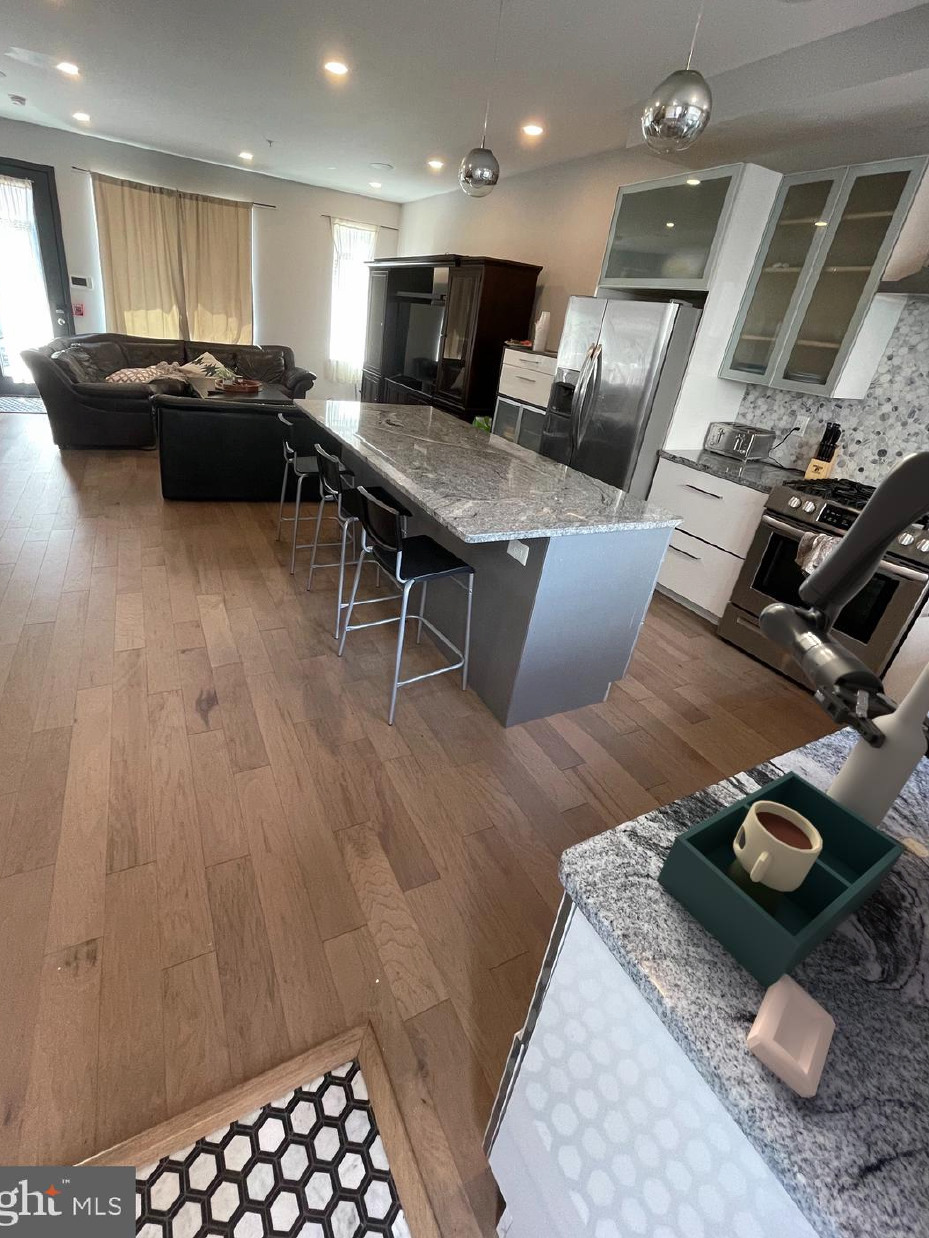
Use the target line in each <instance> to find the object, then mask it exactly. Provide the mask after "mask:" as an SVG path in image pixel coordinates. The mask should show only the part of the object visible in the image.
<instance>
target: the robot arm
mask: <svg viewBox="0 0 929 1238" xmlns="http://www.w3.org/2000/svg"><path fill="white" fill-rule="evenodd" d="M926 515H929V450H925V451H917V452H913V453H909V454H907V455H905V456H903V457H901V458H900V459H898V461H896V462H895V463H894V464H892V466H891V467H890V468H889V470H887V472H886V473H885V474H884V476H883V477H882V479H881V481H880V482H879V484H878V485H877V487H876V489H875V490H874V492H873V494H872V495H871V496H870V498H869V500H868V502H867V503H866V505H865V506H864V507H863V509H862V510H861V512H860V513H859V514H858V517H857V518H856V519H855V521H853V523H852V525H851V527H850V528H849V529H848V530H847V532H846V533H845V534H844V535H843V537H842V539H841V540H840V541H839V542H838V543H837V545H836V546H835V547H833V549H832V550H831V551H830V553H829V554H828V555H827V556H826V557H825V558H824V559H823V560H822V562H820V564H819V565H817V567H816V568H815V569H814V570H813V571H812V572H811V574H809V576H808V577H807V578H806V579H805V580H804V581H803V582H802V583H801V585H800V586H799V588H798V594H799V597H800V598H801V600H802V601H803V602H804V603H806V604H807V605H808V606H809V607H810V609H809V610H805V609H802V608H799V607H796V606H794V605H791V604H788V603H785V602H774V603H771V604H769V605H767V606H766V607H764V608H763V610H762V611H761V613H760V615H759V620H758V623H759V629H760V631H761V633H762V635H763V636H764V638H765V639H767V640H768V641H769V642H770V643H771V644H772V645H774V646H775V647H776V648H778V649H780V650H781V651H782V652H783V653H785V654H787V655H788V656H790V657H791V658H792V659H793V660H794V661H795V662H796V664H797V665H798V666H799V667H800V668H801V670H802V671H803V672H804V673H805V675H806V677H807V679H808V680H809V682H810V683H811V684H812V685H813V686H814V688H815V689H816V692H815V694H813V697H812V700H813V701H814V703H815V704H816V705H818V707H819V708H820V709H821V710H822V711H823V712H824V713H825V714H826V715H827V716H828V717H829V718H830V719H831V721H833V722H834V723H835V724H836V725H839V726H842V725H844V724H846V725H848V727H849V728H850V730H851V729H852V730H854V731H856V732H857V733H858V734H859V735H860V737H861V736H862V738H863V739H864V740H865V741H867V742H868V743H869V744H870V746H871V747H873V748H878V749H879V748H881V746H882V744H883V743H884V741H885V739H886V736H885V734H884V733H883V732H882V731H881V730H880V729H879V728H878V727H877V726H876V725H875V724H874V722H873V721H872V719H875V718H877V717H879V716H885V715H889V714H893V713H894V712H895V711H896V710H897V709H898V707H899V706H900V704H898V703H897V702H896V701H895V700H894V699H892V698H890V697H889V696H887V694H886V692H885V688H884V684H883V682H882V680H881V679H880V677H878V676H877V674H876V673H874V672H873V670H871V668H869V667H868V666H867V665H866V664H865V663H864V662H863V661H862V660H860V658H858V656H856V654H854V653H853V652H852V651H851V650H849V649H848V648H846V647H845V646H843V645H842V644H841V642H839V641H838V640H837V639H836V638H835V637H834V636H833V635H831V634H830V632H831V630H832V627H833V626H834V623H835V622H836V621H837V619H838V617H839V615H840V613H841V611H842V609H843V608H844V607H845V606H846V605H847V604H848V603H849V602H851V600H852V599H853V598H854V597H855V596H856V595H857V594H858V593H859V592H860V591H861V590H862V589H863V588H864V587H865V586H866V585H867V584H868V583H869V581H870V580H871V579H872V578H873V576H874V574H875V573H876V571H877V570H878V568H879V565H880V563H881V561H882V559H883V558H884V556H885V554H886V553H887V551H888V549H889V548H890V547H891V545H893V543H895V541H896V540H897V538H898V537H900V535H902V534H903V533H904V532H905V531H906V530H907V529H908V528H909V527H911V526H912V525H913V524H915V523H916V522H918V520H920V519H921V518H923V517H924V516H926ZM922 730H923V733H924V735H925V738H926V740H927V745H928V748H927V751H926V753H925V754H924V756H923V757H925V758H926V759H927V760H929V716H928V715H927V716H926V718H925V719H924V721H923V723H922Z"/></svg>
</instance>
